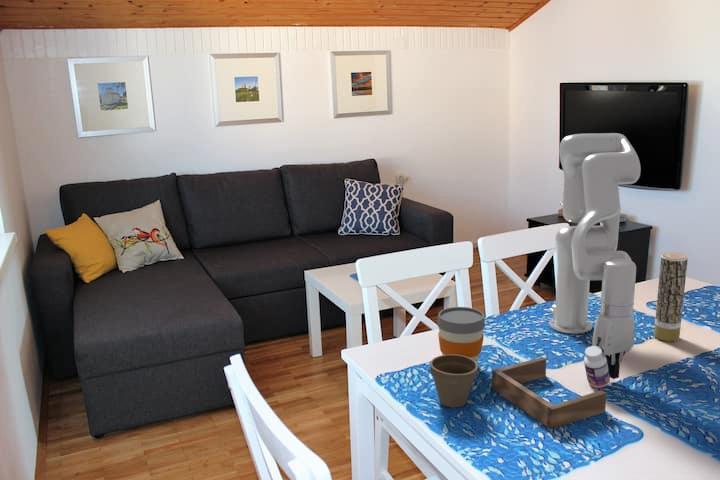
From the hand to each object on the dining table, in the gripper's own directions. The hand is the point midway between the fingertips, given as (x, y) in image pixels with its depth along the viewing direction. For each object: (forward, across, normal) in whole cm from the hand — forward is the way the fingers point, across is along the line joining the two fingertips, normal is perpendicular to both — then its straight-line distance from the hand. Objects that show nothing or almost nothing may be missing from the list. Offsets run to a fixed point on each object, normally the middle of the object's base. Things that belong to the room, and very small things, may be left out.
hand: (611, 376), depth 168 cm
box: (+2, +21, -1) cm, 21 cm away
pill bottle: (+1, +4, 0) cm, 4 cm away
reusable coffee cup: (+2, +28, -26) cm, 38 cm away
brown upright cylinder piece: (+2, -34, -12) cm, 37 cm away
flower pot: (+2, +40, -11) cm, 42 cm away
